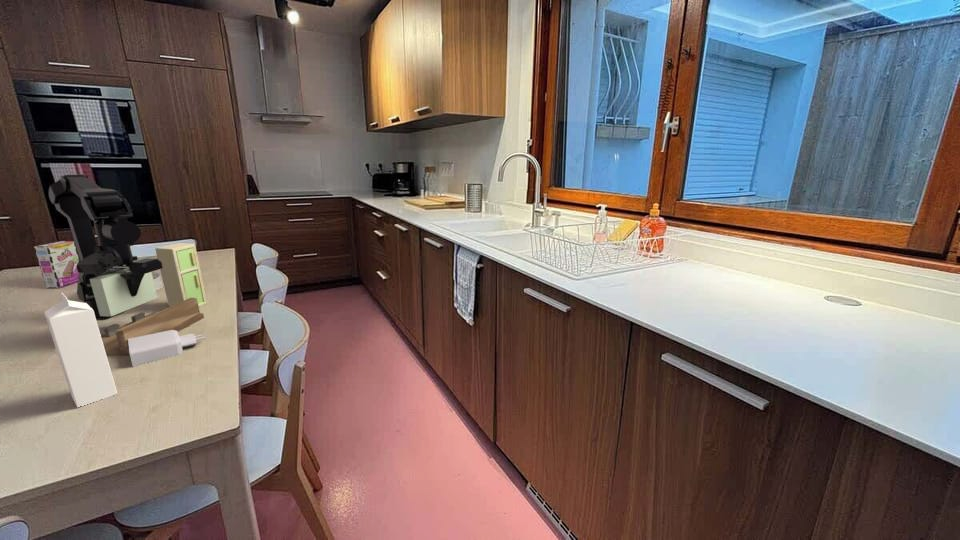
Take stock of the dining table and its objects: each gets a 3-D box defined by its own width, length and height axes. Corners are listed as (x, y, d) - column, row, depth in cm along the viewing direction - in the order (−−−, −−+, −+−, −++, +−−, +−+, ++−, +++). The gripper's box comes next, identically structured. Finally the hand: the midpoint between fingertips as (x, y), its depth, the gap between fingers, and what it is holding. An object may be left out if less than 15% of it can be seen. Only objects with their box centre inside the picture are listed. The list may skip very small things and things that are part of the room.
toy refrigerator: (188, 313, 123) (173, 248, 117) (169, 311, 124) (154, 247, 119) (209, 304, 130) (197, 243, 125) (191, 302, 132) (178, 242, 126)
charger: (209, 350, 101) (133, 369, 91) (203, 338, 107) (131, 354, 97) (206, 334, 99) (128, 351, 89) (200, 322, 106) (127, 337, 96)
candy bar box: (60, 288, 147) (47, 246, 142) (45, 289, 146) (32, 246, 142) (86, 279, 157) (74, 240, 153) (72, 280, 157) (60, 240, 152)
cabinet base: (72, 353, 97) (64, 329, 95) (154, 316, 120) (149, 297, 118) (133, 355, 96) (126, 331, 94) (204, 317, 119) (199, 298, 117)
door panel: (100, 316, 99) (89, 279, 96) (147, 297, 113) (139, 264, 110) (111, 316, 99) (100, 279, 96) (157, 297, 112) (149, 264, 110)
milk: (110, 385, 83) (83, 288, 78) (118, 394, 80) (90, 294, 74) (70, 398, 79) (38, 296, 73) (76, 408, 75) (43, 302, 69)
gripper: (45, 245, 93) (63, 305, 98) (118, 246, 93) (134, 307, 97) (91, 237, 104) (106, 291, 108) (157, 238, 103) (170, 292, 108)
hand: (128, 295), depth 105 cm, fingers closed on door panel, 3 cm apart
